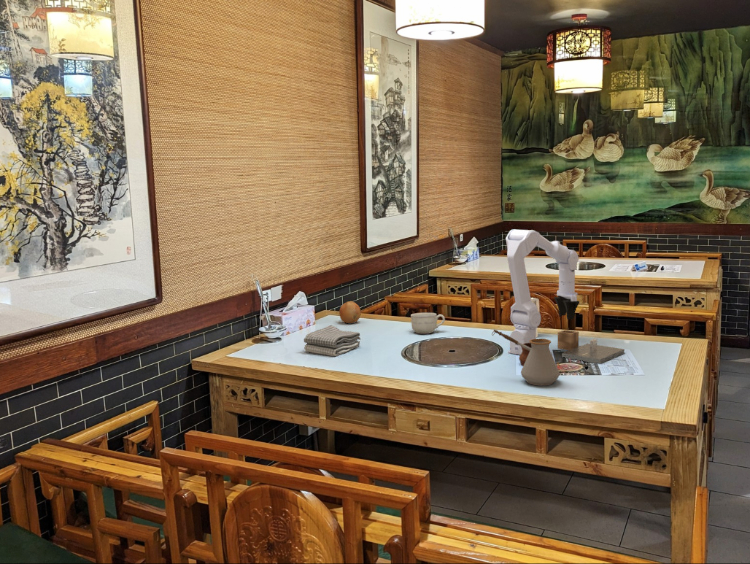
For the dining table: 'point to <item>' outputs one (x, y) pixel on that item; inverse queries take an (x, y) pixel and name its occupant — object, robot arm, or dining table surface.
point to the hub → (593, 352)
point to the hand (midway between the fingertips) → (566, 317)
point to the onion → (350, 312)
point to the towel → (331, 341)
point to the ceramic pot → (526, 354)
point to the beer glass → (536, 302)
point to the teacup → (425, 322)
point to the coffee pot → (537, 362)
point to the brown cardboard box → (568, 339)
